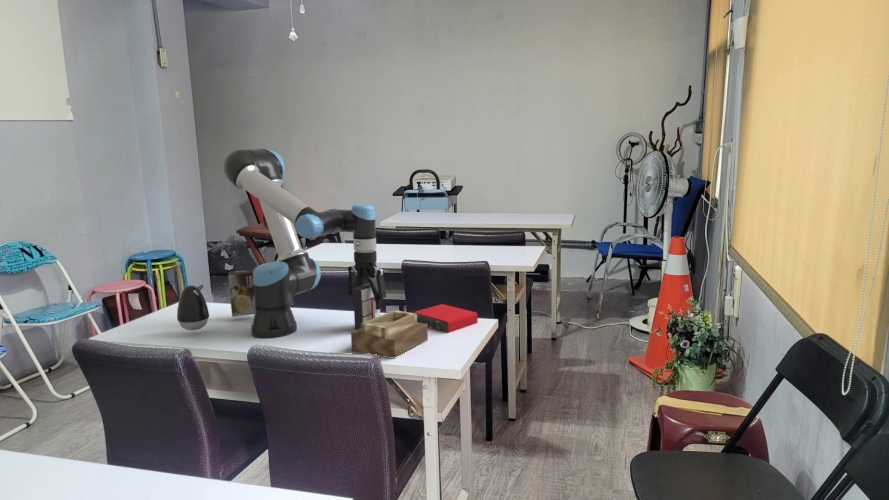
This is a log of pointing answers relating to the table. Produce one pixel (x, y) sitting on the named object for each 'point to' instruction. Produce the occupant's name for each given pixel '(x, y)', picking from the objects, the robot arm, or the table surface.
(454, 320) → the red device housing
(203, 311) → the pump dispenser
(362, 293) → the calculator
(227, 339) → the table surface
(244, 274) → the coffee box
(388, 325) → the display riser
